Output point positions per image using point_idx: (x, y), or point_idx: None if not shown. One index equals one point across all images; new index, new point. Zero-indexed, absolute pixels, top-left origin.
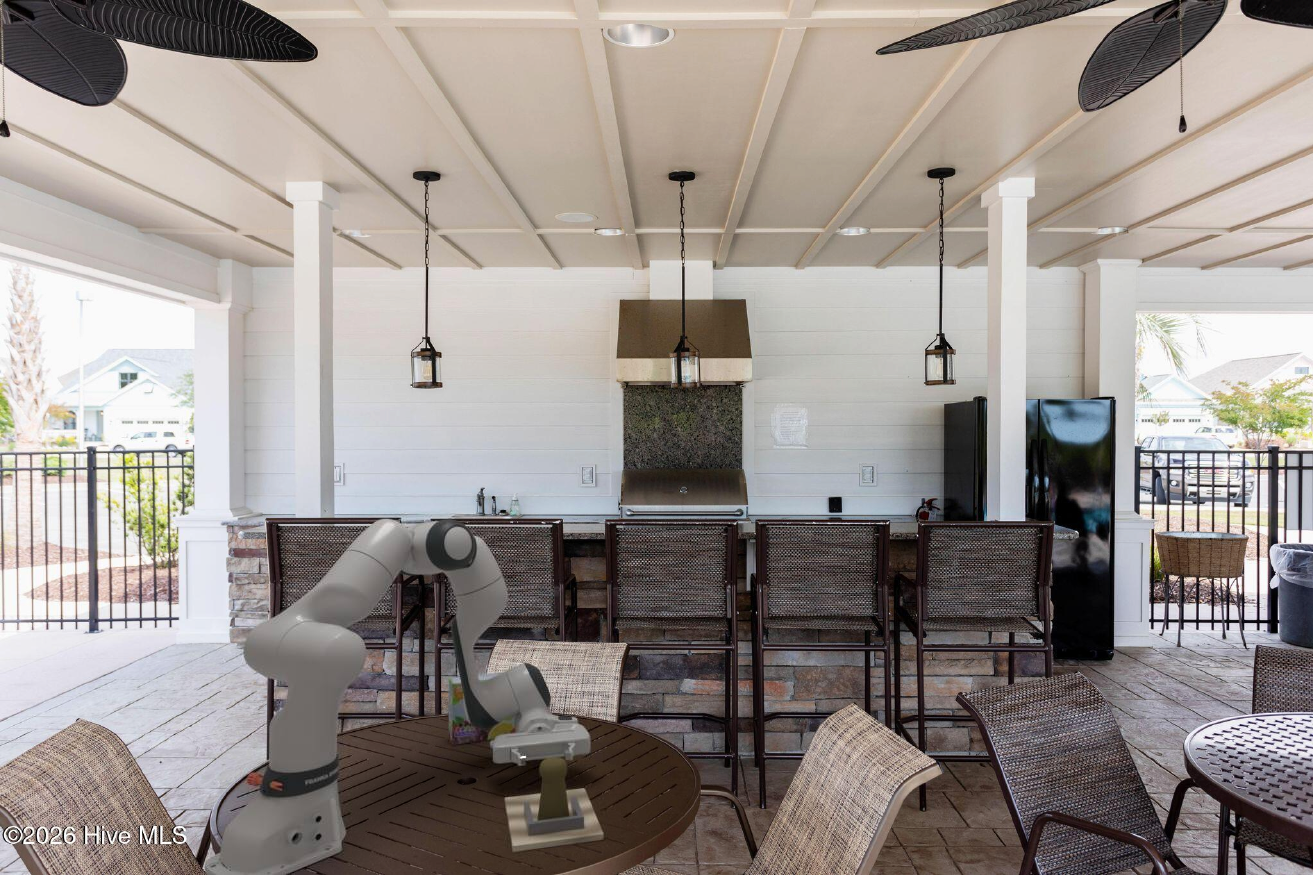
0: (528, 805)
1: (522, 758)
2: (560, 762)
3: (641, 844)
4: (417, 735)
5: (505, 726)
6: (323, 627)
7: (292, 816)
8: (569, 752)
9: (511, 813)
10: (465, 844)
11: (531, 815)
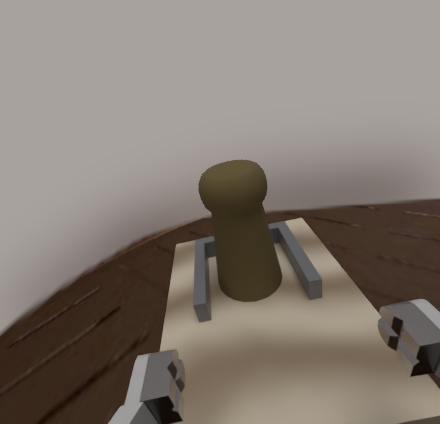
0: (304, 268)
1: (397, 303)
2: (212, 166)
3: (138, 245)
4: None
5: None
6: None
7: None
8: (154, 353)
9: (355, 298)
10: (393, 233)
11: (286, 239)
